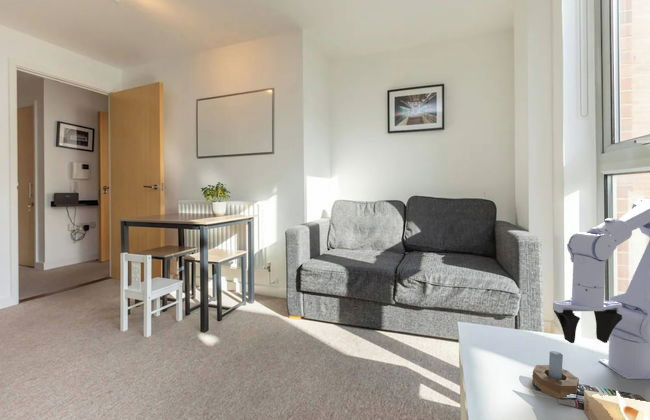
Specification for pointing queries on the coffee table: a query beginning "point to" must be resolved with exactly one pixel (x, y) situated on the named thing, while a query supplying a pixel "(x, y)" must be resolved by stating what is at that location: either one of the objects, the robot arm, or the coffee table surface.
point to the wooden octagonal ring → (555, 382)
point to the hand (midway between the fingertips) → (585, 340)
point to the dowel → (555, 365)
